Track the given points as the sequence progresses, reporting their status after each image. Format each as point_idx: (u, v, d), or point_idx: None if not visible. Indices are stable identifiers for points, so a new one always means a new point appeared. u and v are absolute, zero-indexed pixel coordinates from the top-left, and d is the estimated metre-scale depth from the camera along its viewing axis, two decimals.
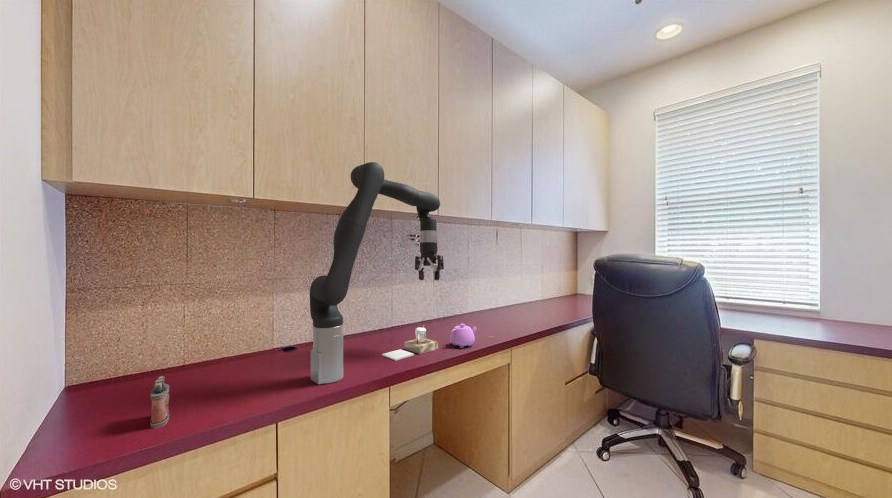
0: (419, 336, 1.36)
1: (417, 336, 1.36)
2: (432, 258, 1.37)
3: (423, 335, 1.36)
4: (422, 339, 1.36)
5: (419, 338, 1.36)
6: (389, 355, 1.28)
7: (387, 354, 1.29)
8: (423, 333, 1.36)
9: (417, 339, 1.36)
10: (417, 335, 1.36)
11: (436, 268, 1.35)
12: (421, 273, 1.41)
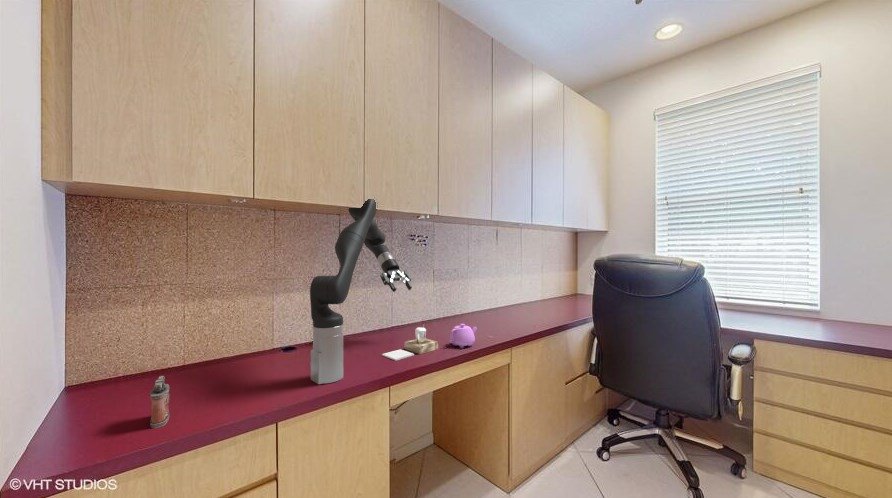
0: (419, 336, 1.36)
1: (417, 336, 1.36)
2: None
3: (423, 335, 1.36)
4: (422, 339, 1.36)
5: (419, 338, 1.36)
6: (389, 355, 1.28)
7: (387, 354, 1.29)
8: (423, 333, 1.36)
9: (417, 339, 1.36)
10: (417, 335, 1.36)
11: (408, 279, 1.53)
12: None
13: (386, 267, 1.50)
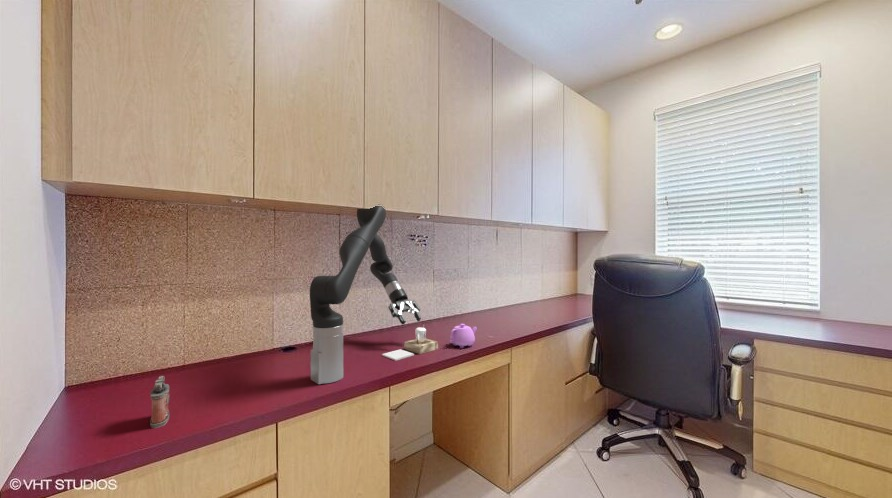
0: (419, 336, 1.36)
1: (417, 336, 1.36)
2: (409, 303, 1.48)
3: (423, 335, 1.36)
4: (422, 339, 1.36)
5: (419, 338, 1.36)
6: (389, 355, 1.28)
7: (387, 354, 1.29)
8: (423, 333, 1.36)
9: (417, 339, 1.36)
10: (417, 335, 1.36)
11: (417, 309, 1.48)
12: None
13: (394, 297, 1.46)
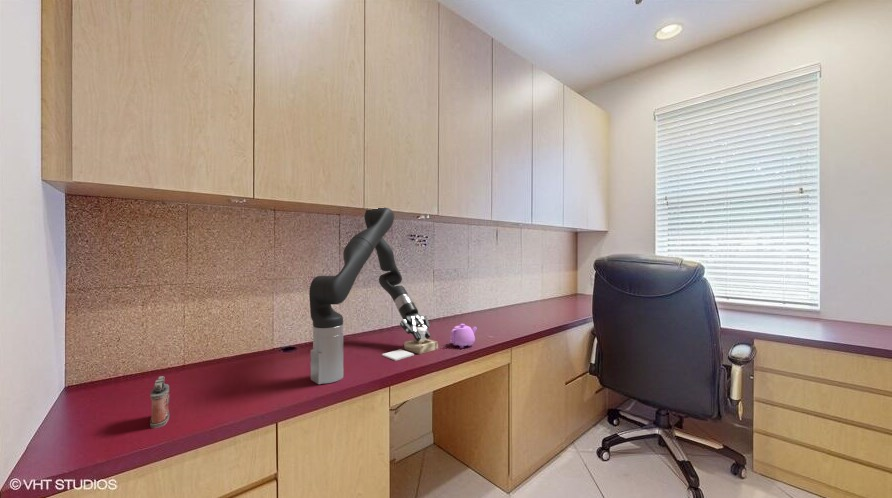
0: None
1: None
2: (419, 317, 1.43)
3: (423, 335, 1.36)
4: (422, 339, 1.36)
5: None
6: (389, 355, 1.28)
7: (387, 354, 1.29)
8: (424, 333, 1.36)
9: None
10: None
11: (426, 326, 1.41)
12: None
13: (404, 311, 1.40)
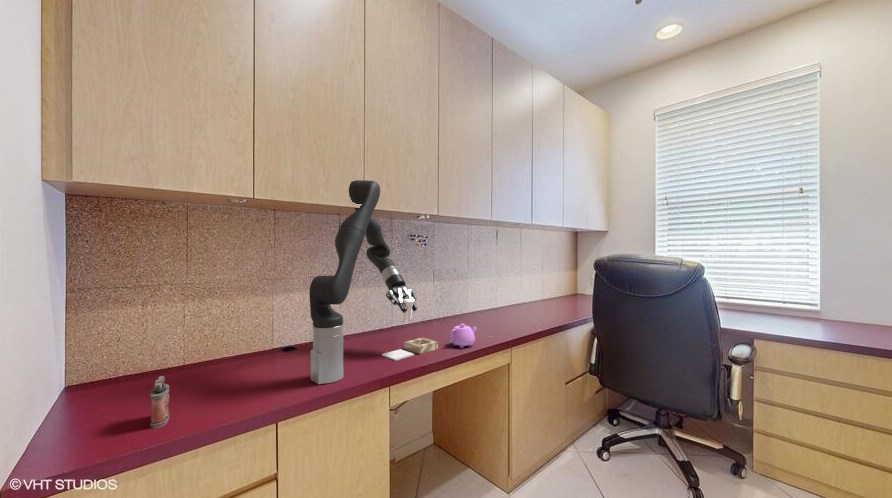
0: (406, 307, 1.31)
1: None
2: (407, 289, 1.38)
3: (410, 306, 1.31)
4: (409, 310, 1.31)
5: None
6: (389, 355, 1.28)
7: (387, 354, 1.29)
8: (410, 304, 1.31)
9: None
10: None
11: (413, 298, 1.36)
12: None
13: (391, 283, 1.35)
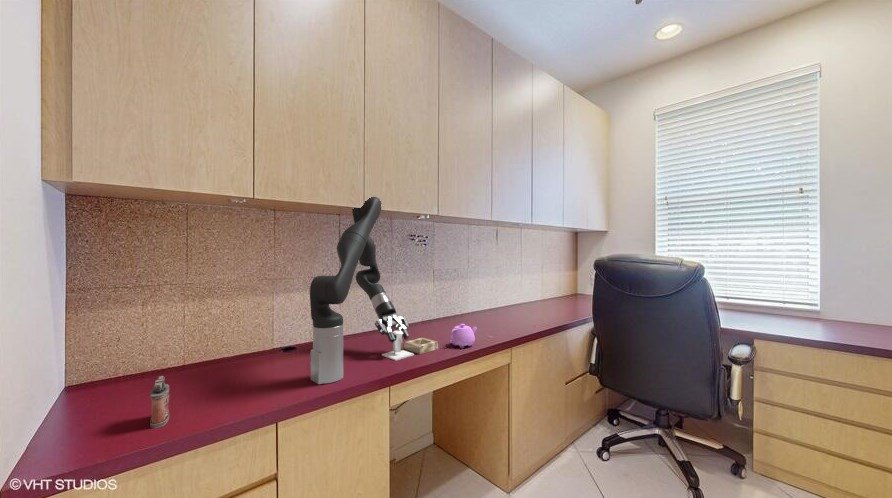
0: (396, 340, 1.28)
1: None
2: (397, 317, 1.35)
3: (400, 339, 1.28)
4: (399, 343, 1.28)
5: (396, 342, 1.28)
6: (389, 355, 1.28)
7: (387, 354, 1.29)
8: (400, 336, 1.28)
9: (393, 343, 1.28)
10: None
11: (404, 326, 1.33)
12: None
13: (381, 311, 1.32)
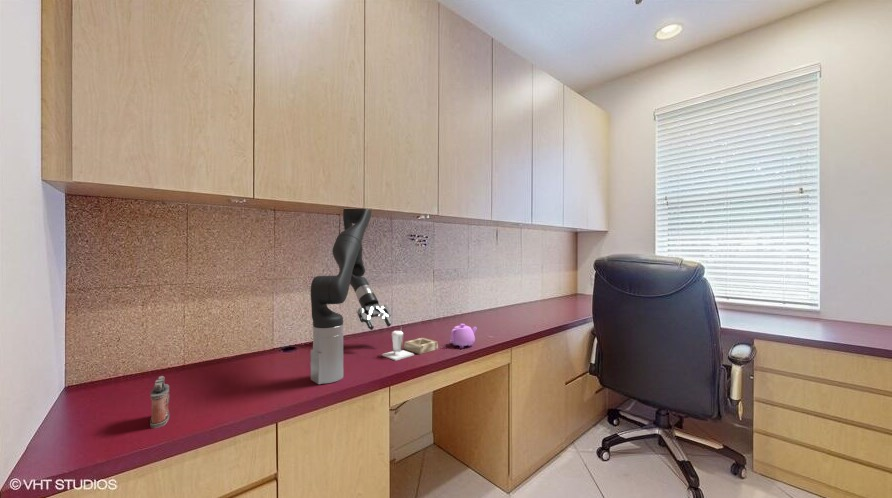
0: (396, 340, 1.28)
1: (393, 340, 1.28)
2: (379, 307, 1.44)
3: (400, 339, 1.28)
4: (399, 343, 1.28)
5: (396, 342, 1.28)
6: (389, 355, 1.28)
7: (387, 354, 1.29)
8: (400, 337, 1.28)
9: (393, 343, 1.28)
10: (393, 339, 1.28)
11: (387, 314, 1.44)
12: None
13: (364, 302, 1.42)
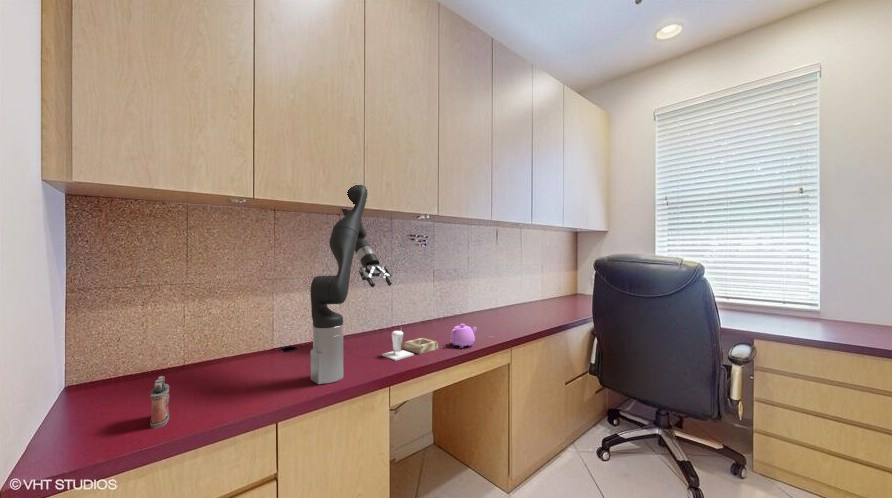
0: (395, 340, 1.28)
1: (393, 340, 1.28)
2: None
3: (400, 339, 1.28)
4: (399, 343, 1.28)
5: (396, 342, 1.28)
6: (389, 355, 1.28)
7: (387, 354, 1.29)
8: (400, 337, 1.28)
9: (393, 343, 1.28)
10: (393, 339, 1.28)
11: (388, 274, 1.47)
12: None
13: (365, 261, 1.44)
